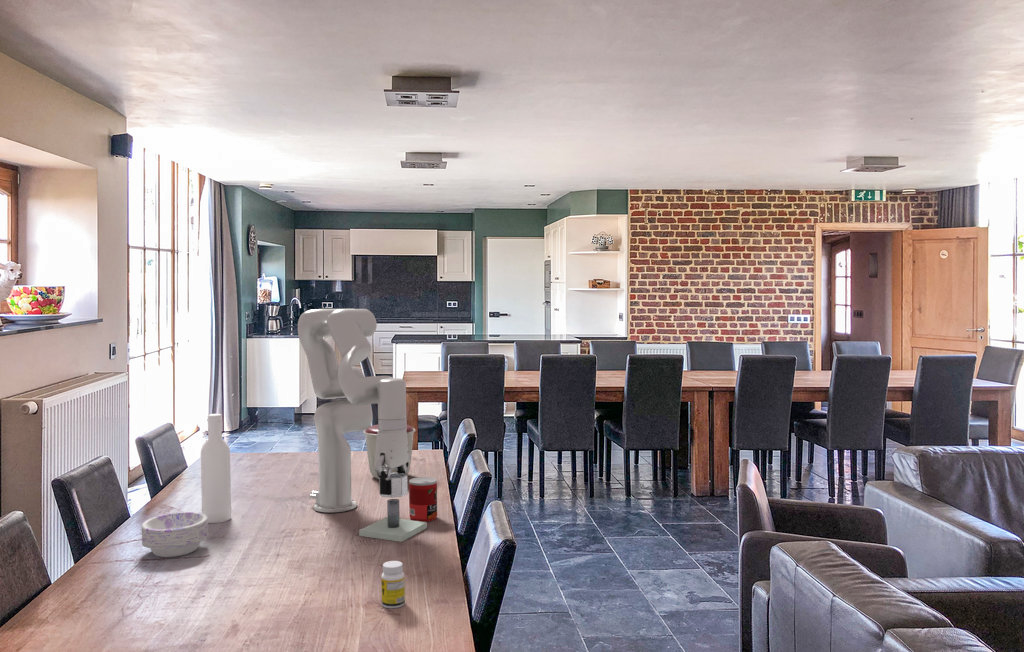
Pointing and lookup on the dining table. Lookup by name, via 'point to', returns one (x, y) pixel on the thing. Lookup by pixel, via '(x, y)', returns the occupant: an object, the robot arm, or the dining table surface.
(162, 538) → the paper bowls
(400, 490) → the metal ring
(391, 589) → the supplement bottle
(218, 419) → the bottle
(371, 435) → the canister
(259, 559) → the dining table surface
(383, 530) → the green board
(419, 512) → the canned food
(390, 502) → the steel post
